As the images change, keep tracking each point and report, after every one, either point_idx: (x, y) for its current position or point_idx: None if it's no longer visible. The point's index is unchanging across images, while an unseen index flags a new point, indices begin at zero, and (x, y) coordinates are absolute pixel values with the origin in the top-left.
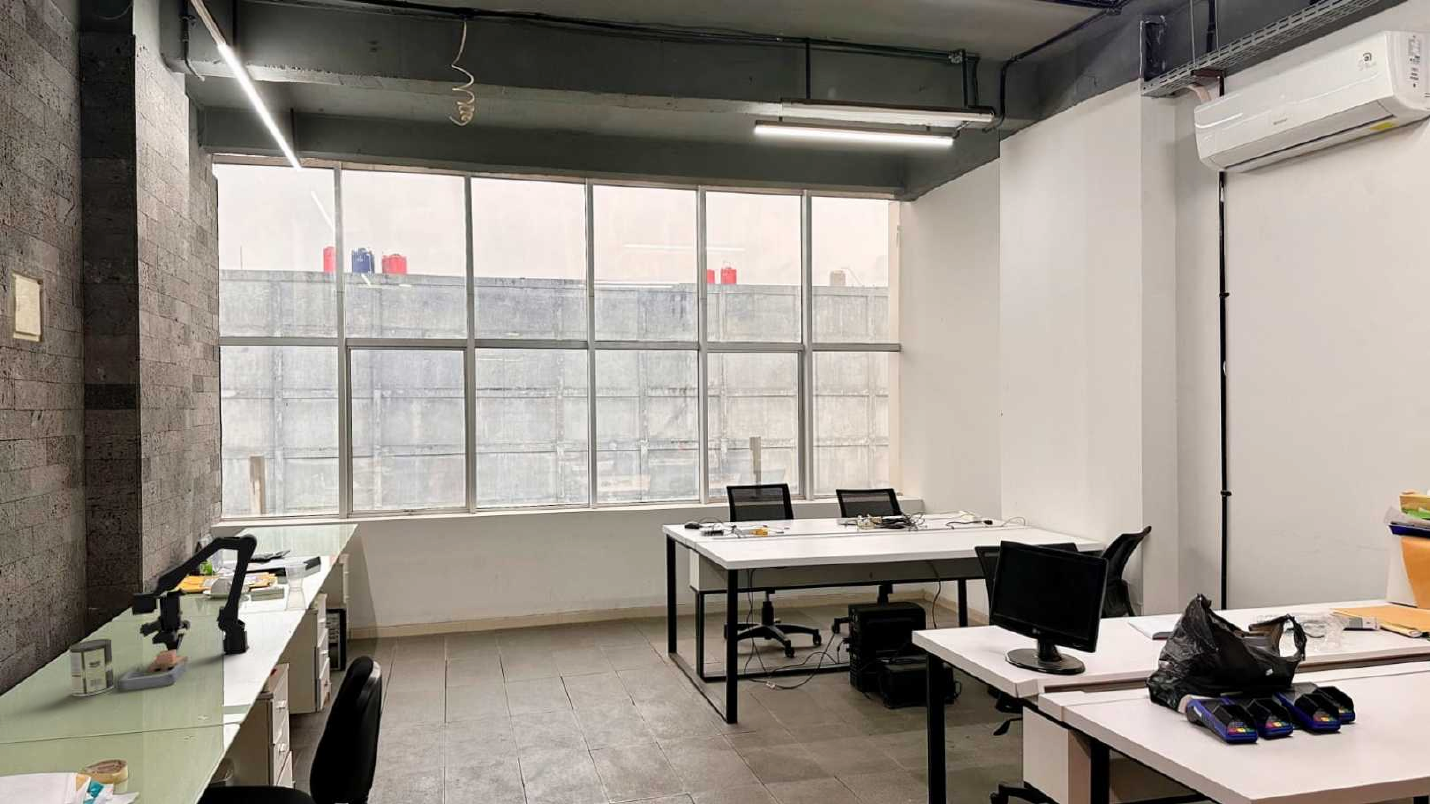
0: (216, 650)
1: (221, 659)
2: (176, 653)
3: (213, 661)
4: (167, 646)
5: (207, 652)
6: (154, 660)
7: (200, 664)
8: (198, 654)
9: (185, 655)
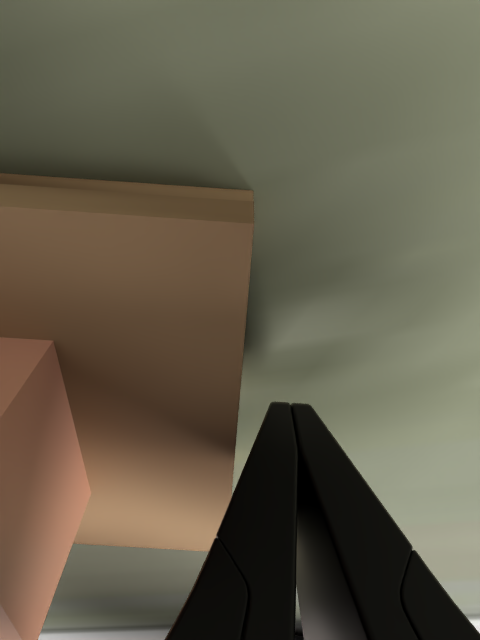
0: (451, 596)
1: (130, 623)
2: (57, 569)
3: (94, 601)
4: (172, 635)
5: (441, 563)
6: (100, 214)
7: None
8: (428, 524)
9: (205, 539)
